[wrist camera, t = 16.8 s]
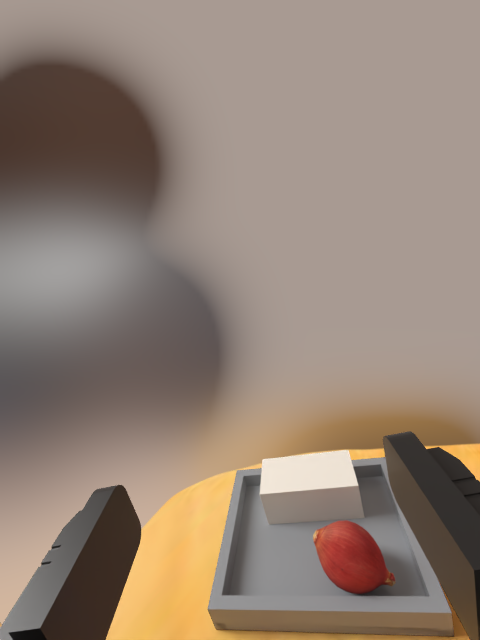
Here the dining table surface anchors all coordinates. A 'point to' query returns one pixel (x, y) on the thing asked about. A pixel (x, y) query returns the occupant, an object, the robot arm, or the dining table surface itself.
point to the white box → (310, 488)
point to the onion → (351, 557)
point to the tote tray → (309, 577)
